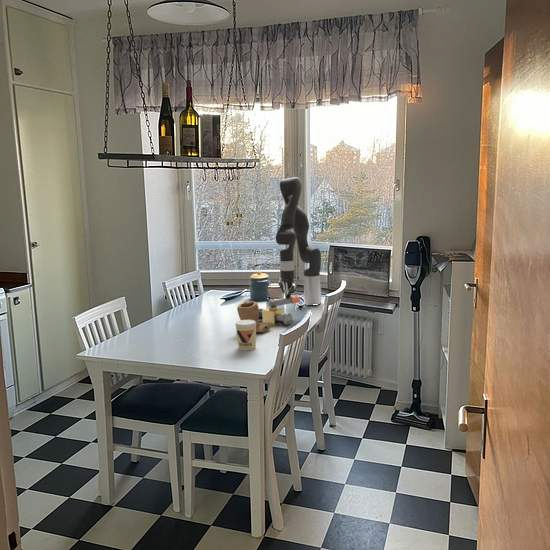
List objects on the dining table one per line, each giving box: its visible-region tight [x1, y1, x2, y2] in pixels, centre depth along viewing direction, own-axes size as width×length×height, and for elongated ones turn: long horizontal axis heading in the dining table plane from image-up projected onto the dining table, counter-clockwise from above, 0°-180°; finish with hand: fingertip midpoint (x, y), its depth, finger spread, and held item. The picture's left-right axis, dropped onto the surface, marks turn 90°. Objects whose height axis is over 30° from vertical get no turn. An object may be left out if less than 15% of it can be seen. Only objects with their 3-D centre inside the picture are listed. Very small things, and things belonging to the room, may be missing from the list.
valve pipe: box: [258, 306, 293, 327], centre depth 299 cm, size 20×8×9 cm, turn 50°
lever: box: [267, 295, 300, 308], centre depth 301 cm, size 17×4×3 cm, turn 119°
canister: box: [248, 270, 271, 302], centre depth 352 cm, size 13×13×18 cm
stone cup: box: [237, 300, 272, 333], centre depth 283 cm, size 15×12×15 cm
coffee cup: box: [235, 319, 257, 351], centre depth 259 cm, size 9×9×12 cm
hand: (288, 301), depth 306 cm, fingers closed
